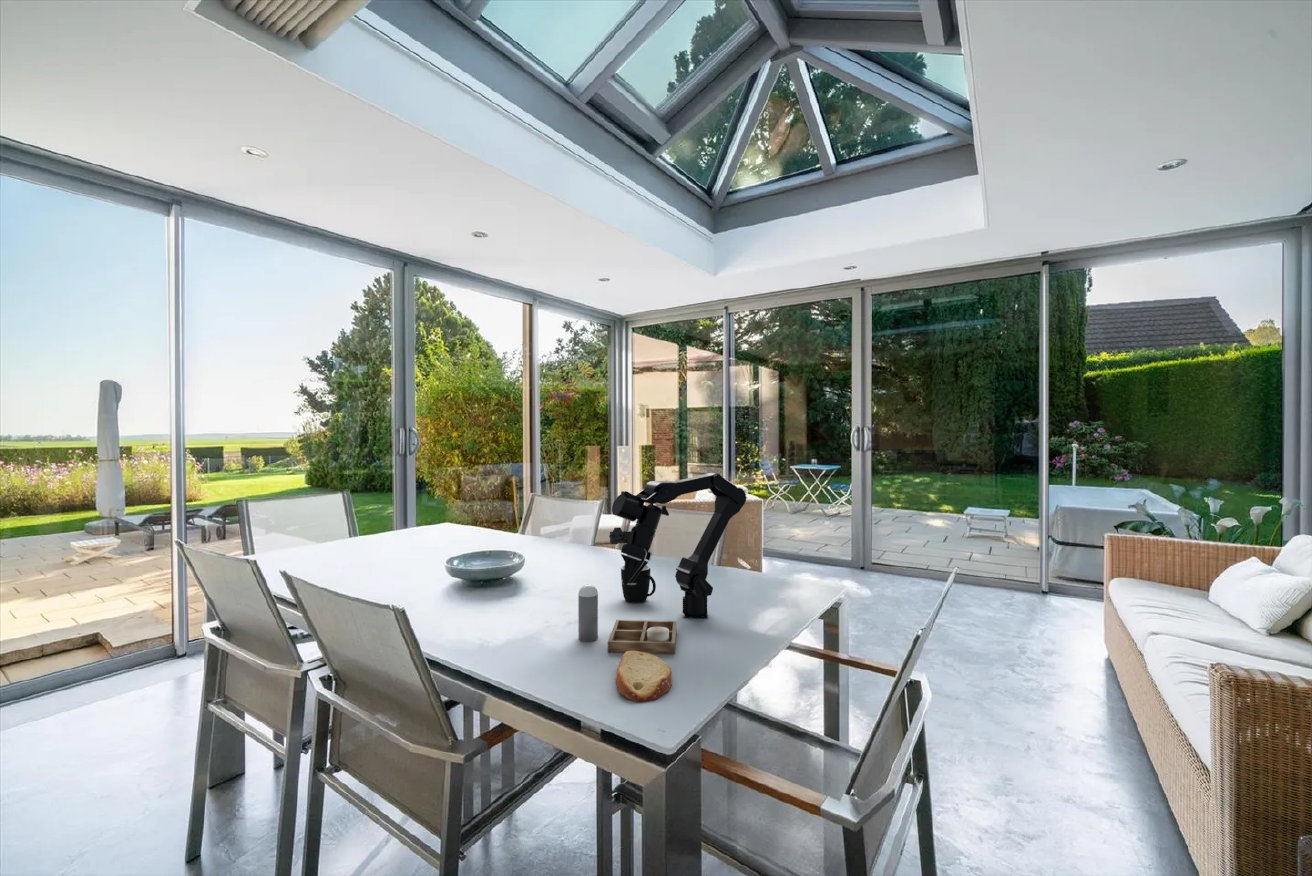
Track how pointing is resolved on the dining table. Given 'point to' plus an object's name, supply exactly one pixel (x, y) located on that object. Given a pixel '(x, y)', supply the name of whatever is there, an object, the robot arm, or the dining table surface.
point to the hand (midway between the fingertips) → (626, 583)
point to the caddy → (643, 636)
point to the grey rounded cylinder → (588, 613)
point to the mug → (638, 586)
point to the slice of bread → (643, 676)
